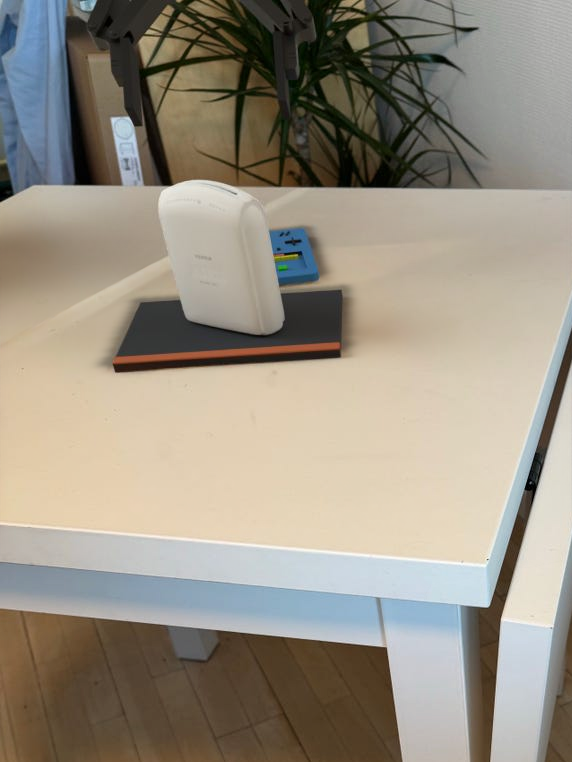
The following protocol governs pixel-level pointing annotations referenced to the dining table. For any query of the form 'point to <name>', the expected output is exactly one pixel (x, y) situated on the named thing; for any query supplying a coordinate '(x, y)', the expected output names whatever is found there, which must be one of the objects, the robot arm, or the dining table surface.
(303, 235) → the handheld gaming device
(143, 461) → the dining table surface
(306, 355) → the mat
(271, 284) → the photo printer
